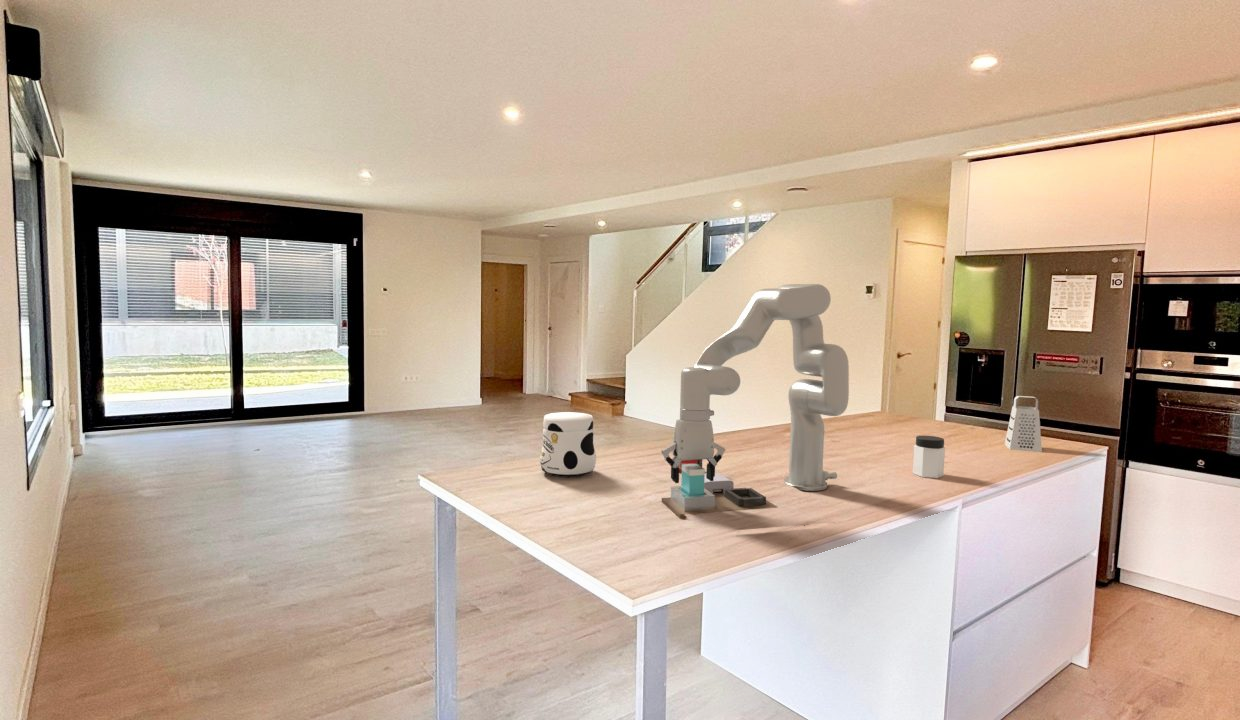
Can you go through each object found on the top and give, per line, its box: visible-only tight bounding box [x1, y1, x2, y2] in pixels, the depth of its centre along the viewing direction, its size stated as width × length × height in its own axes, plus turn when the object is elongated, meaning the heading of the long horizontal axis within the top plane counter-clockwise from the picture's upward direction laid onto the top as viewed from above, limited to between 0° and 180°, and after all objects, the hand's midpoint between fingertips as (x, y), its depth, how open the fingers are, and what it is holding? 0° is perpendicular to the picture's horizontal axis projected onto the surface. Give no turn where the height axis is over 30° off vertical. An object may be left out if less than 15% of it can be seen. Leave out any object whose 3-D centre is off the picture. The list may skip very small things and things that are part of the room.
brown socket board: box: [661, 487, 778, 519], centre depth 171 cm, size 27×14×3 cm, turn 105°
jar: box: [912, 435, 946, 479], centre depth 207 cm, size 9×8×12 cm
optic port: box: [670, 485, 716, 512], centre depth 169 cm, size 8×10×4 cm
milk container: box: [539, 411, 597, 478], centre depth 201 cm, size 17×17×18 cm
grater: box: [1004, 395, 1043, 453], centre depth 250 cm, size 10×10×20 cm
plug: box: [680, 464, 706, 496], centre depth 168 cm, size 4×6×10 cm
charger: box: [704, 472, 735, 495], centre depth 186 cm, size 5×9×15 cm
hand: (692, 480), depth 168 cm, fingers open, 9 cm apart
